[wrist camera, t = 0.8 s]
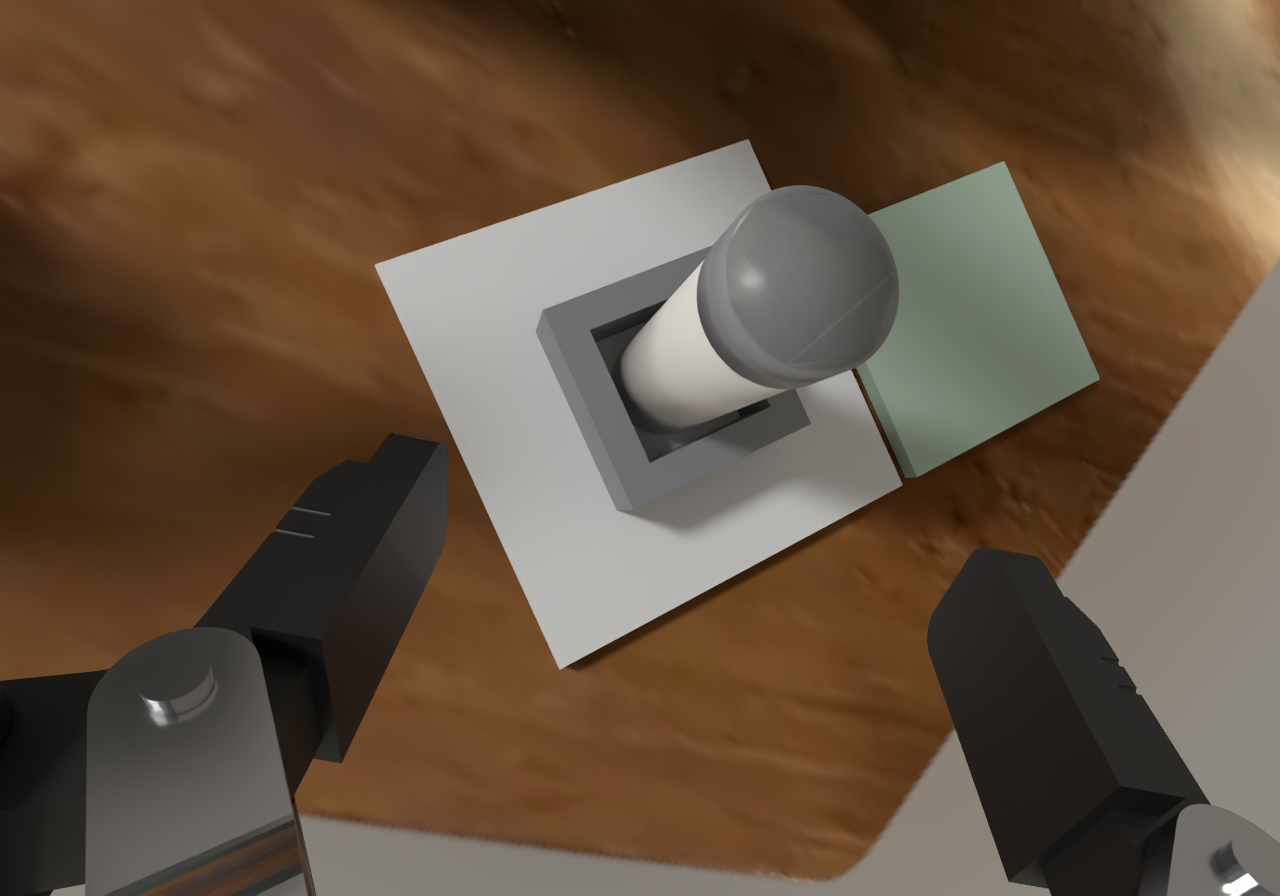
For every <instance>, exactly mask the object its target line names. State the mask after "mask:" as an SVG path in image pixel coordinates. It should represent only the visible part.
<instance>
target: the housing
mask: <svg viewBox="0 0 1280 896" xmlns="http://www.w3.org/2000/svg"><path fill="white" fill-rule="evenodd" d="M770 191H771V189H770V187H769V184H768V182H767V180H766V178H765V175H764V173H763V171H762V169H761V166H760V164H759V162H758V160H757V157H756V155H755V153H754V151H753V149H752V146H751V144H750V142H749V140H748V139H747V140H744V141H741V142H738V143H735V144H732V145H729V146H726V147H723V148H720V149H717V150H714V151H711V152H708V153H705V154H702V155H699V156H696V157H693V158H690V159H687V160H684V161H682V162H679V163H676V164H673V165H670V166H667V167H664V168H661V169H658V170H655V171H652V172H649V173H646V174H643V175H640V176H637V177H634V178H631V179H628V180H625V181H622V182H619V183H616V184H613V185H610V186H607V187H604V188H601V189H598V190H595V191H592V192H589V193H586V194H583V195H580V196H577V197H575V198H572V199H569V200H566V201H563V202H560V203H557V204H554V205H551V206H548V207H545V208H542V209H539V210H536V211H533V212H530V213H527V214H524V215H521V216H518V217H515V218H512V219H509V220H506V221H503V222H500V223H497V224H494V225H491V226H488V227H485V228H482V229H479V230H476V231H473V232H470V233H468V234H465V235H462V236H459V237H456V238H453V239H450V240H447V241H444V242H441V243H438V244H435V245H432V246H429V247H426V248H423V249H420V250H417V251H414V252H411V253H408V254H405V255H402V256H399V257H396V258H393V259H390V260H387V261H384V262H381V263H378V264H375V268H376V270H377V272H378V275H379V277H380V279H381V281H382V283H383V285H384V288H385V290H386V292H387V294H388V296H389V299H390V301H391V303H392V305H393V307H394V309H395V312H396V314H397V316H398V318H399V320H400V323H401V325H402V327H403V329H404V331H405V333H406V336H407V338H408V340H409V342H410V344H411V347H412V349H413V351H414V353H415V355H416V357H417V360H418V362H419V364H420V366H421V368H422V371H423V373H424V375H425V377H426V379H427V382H428V384H429V386H430V388H431V390H432V392H433V395H434V397H435V399H436V401H437V403H438V406H439V408H440V410H441V412H442V414H443V416H444V419H445V421H446V423H447V425H448V427H449V430H450V432H451V434H452V436H453V438H454V440H455V443H456V445H457V447H458V449H459V451H460V454H461V456H462V458H463V460H464V462H465V464H466V467H467V469H468V471H469V473H470V475H471V478H472V480H473V482H474V484H475V486H476V488H477V491H478V493H479V495H480V497H481V499H482V502H483V504H484V506H485V508H486V510H487V512H488V515H489V517H490V519H491V521H492V523H493V526H494V528H495V530H496V532H497V534H498V537H499V539H500V541H501V543H502V545H503V547H504V550H505V552H506V554H507V556H508V558H509V561H510V563H511V565H512V567H513V569H514V571H515V574H516V576H517V578H518V580H519V582H520V585H521V587H522V589H523V591H524V593H525V595H526V598H527V600H528V602H529V604H530V606H531V609H532V611H533V613H534V615H535V617H536V619H537V622H538V624H539V626H540V628H541V630H542V633H543V635H544V637H545V639H546V641H547V643H548V646H549V648H550V650H551V652H552V654H553V657H554V659H555V661H556V663H557V665H558V667H559V669H562V668H564V667H566V666H567V665H569V664H571V663H573V662H575V661H577V660H579V659H580V658H582V657H584V656H586V655H588V654H590V653H592V652H593V651H595V650H597V649H599V648H601V647H603V646H605V645H606V644H608V643H610V642H612V641H614V640H616V639H618V638H619V637H621V636H623V635H625V634H627V633H629V632H631V631H632V630H634V629H636V628H638V627H640V626H642V625H644V624H646V623H647V622H649V621H651V620H653V619H655V618H657V617H659V616H660V615H662V614H664V613H666V612H668V611H670V610H672V609H673V608H675V607H677V606H679V605H681V604H683V603H685V602H686V601H688V600H690V599H692V598H694V597H696V596H698V595H699V594H701V593H703V592H705V591H707V590H709V589H711V588H712V587H714V586H716V585H718V584H720V583H722V582H724V581H725V580H727V579H729V578H731V577H733V576H735V575H737V574H738V573H740V572H742V571H744V570H746V569H748V568H750V567H751V566H753V565H755V564H757V563H759V562H761V561H763V560H764V559H766V558H768V557H770V556H772V555H774V554H776V553H777V552H779V551H781V550H783V549H785V548H787V547H789V546H790V545H792V544H794V543H796V542H798V541H800V540H802V539H803V538H805V537H807V536H809V535H811V534H813V533H815V532H816V531H818V530H820V529H822V528H824V527H826V526H828V525H830V524H831V523H833V522H835V521H837V520H839V519H841V518H843V517H844V516H846V515H848V514H850V513H852V512H854V511H856V510H857V509H859V508H861V507H863V506H865V505H867V504H869V503H870V502H872V501H874V500H876V499H878V498H880V497H882V496H883V495H885V494H887V493H889V492H891V491H893V490H895V489H896V488H898V487H900V486H902V485H903V484H902V482H901V480H900V478H899V475H898V473H897V471H896V469H895V467H894V464H893V462H892V460H891V458H890V455H889V453H888V451H887V449H886V446H885V444H884V442H883V440H882V437H881V435H880V433H879V431H878V428H877V426H876V424H875V422H874V419H873V417H872V415H871V413H870V411H869V408H868V406H867V404H866V402H865V399H864V397H863V395H862V393H861V390H860V388H859V386H858V384H857V381H856V379H855V377H854V375H853V372H852V370H849V371H846V372H843V373H841V374H838V375H835V376H833V377H830V378H827V379H825V380H822V381H819V382H817V383H814V384H811V385H809V386H806V387H802V388H797V389H789V390H787V391H784V392H781V393H779V394H776V395H774V396H771V397H769V398H766V399H763V400H761V401H758V402H756V403H753V404H750V405H748V406H745V407H743V408H740V409H738V410H735V411H732V412H730V413H727V414H725V415H722V416H719V417H717V418H714V419H712V420H709V421H707V422H704V423H701V424H699V425H696V426H694V427H691V428H688V429H686V430H683V431H681V432H678V433H675V434H670V435H655V434H650V433H647V432H644V431H642V430H640V429H638V428H636V427H635V426H633V425H632V422H631V420H630V418H629V416H628V413H627V411H626V409H625V407H624V405H623V402H622V400H621V398H620V396H619V394H618V391H617V389H616V387H615V385H614V383H613V380H612V378H611V375H612V370H613V366H614V364H615V361H616V359H617V358H618V356H619V354H620V353H621V352H622V350H623V349H624V348H625V347H626V346H627V345H628V344H629V343H630V341H631V340H632V339H633V338H634V337H635V336H636V335H637V334H638V333H639V331H640V330H641V329H642V328H643V327H644V326H645V325H646V324H647V323H648V321H649V320H650V319H651V318H652V317H653V316H654V315H655V314H656V313H657V311H658V310H659V309H660V308H661V307H662V306H663V305H664V304H665V303H666V301H667V300H668V299H669V298H670V297H671V296H672V295H673V294H674V293H675V291H676V290H677V289H678V288H679V287H680V286H681V285H682V284H683V283H684V282H685V280H686V279H687V278H688V277H689V276H690V275H691V274H692V273H693V272H694V270H695V269H696V268H697V267H698V266H699V265H700V264H701V263H702V262H703V260H704V259H705V257H706V255H707V253H708V252H709V250H710V248H711V247H712V246H713V245H714V243H715V242H716V241H717V240H718V239H719V237H720V236H721V235H722V234H723V233H724V232H725V231H726V230H727V228H728V227H729V226H730V225H731V224H732V223H733V222H734V220H735V219H736V218H737V217H738V216H739V215H740V214H741V213H742V211H743V210H744V209H745V208H746V207H747V206H748V205H750V204H751V203H752V202H753V201H754V200H756V199H757V198H759V197H760V196H762V195H763V194H766V193H768V192H770Z"/></svg>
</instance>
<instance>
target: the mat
mask: <svg viewBox="0 0 1280 896" xmlns="http://www.w3.org/2000/svg"><path fill="white" fill-rule="evenodd" d="M868 216H869V217H870V218H871V219H872V221H873V222H874V223H875V224H876V225H877V227H878V228H879V230H880V231H881V233H882V234H883V236H884V237H885V239H886V241H887V243H888V245H889V247H890V250H891V252H892V255H893V257H894V260H895V264H896V268H897V273H898V280H899V302H898V309H897V314H896V318H895V321H894V324H893V326H892V329H891V331H890V333H889V335H888V337H887V339H886V340H885V342H884V343H883V344H882V346H881V347H880V349H879V350H878V351H877V352H876V353H875V354H874V355H873V356H872V357H871V358H869V359H868V360H867V361H865V362H864V363H863V364H861V365H859V366H857V367H856V368H857V371H858V373H859V375H860V377H861V380H862V382H863V384H864V386H865V389H866V391H867V393H868V395H869V398H870V400H871V402H872V404H873V407H874V409H875V411H876V413H877V416H878V418H879V420H880V422H881V424H882V427H883V429H884V431H885V433H886V436H887V438H888V440H889V442H890V445H891V447H892V449H893V451H894V454H895V456H896V458H897V460H898V463H899V465H900V467H901V469H902V472H903V474H904V476H905V478H914V477H919V476H921V475H922V474H924V473H926V472H928V471H930V470H932V469H934V468H935V467H937V466H939V465H941V464H943V463H945V462H947V461H948V460H950V459H952V458H954V457H956V456H958V455H960V454H961V453H963V452H965V451H967V450H969V449H971V448H973V447H974V446H976V445H978V444H980V443H982V442H984V441H986V440H987V439H989V438H991V437H993V436H995V435H997V434H999V433H1000V432H1002V431H1004V430H1006V429H1008V428H1010V427H1012V426H1014V425H1015V424H1017V423H1019V422H1021V421H1023V420H1025V419H1027V418H1028V417H1030V416H1032V415H1034V414H1036V413H1038V412H1040V411H1041V410H1043V409H1045V408H1047V407H1049V406H1051V405H1053V404H1054V403H1056V402H1058V401H1060V400H1062V399H1064V398H1066V397H1067V396H1069V395H1071V394H1073V393H1075V392H1077V391H1079V390H1080V389H1082V388H1084V387H1086V386H1088V385H1090V384H1092V383H1093V382H1095V381H1097V380H1099V379H1100V378H1099V375H1098V373H1097V371H1096V368H1095V366H1094V364H1093V362H1092V359H1091V357H1090V355H1089V353H1088V350H1087V348H1086V346H1085V343H1084V341H1083V339H1082V337H1081V334H1080V332H1079V330H1078V328H1077V325H1076V323H1075V321H1074V318H1073V316H1072V314H1071V312H1070V309H1069V307H1068V305H1067V303H1066V300H1065V298H1064V296H1063V293H1062V291H1061V289H1060V287H1059V284H1058V282H1057V280H1056V278H1055V275H1054V273H1053V271H1052V268H1051V266H1050V264H1049V262H1048V259H1047V257H1046V255H1045V253H1044V250H1043V248H1042V246H1041V243H1040V241H1039V239H1038V237H1037V234H1036V232H1035V230H1034V228H1033V225H1032V223H1031V221H1030V218H1029V216H1028V214H1027V212H1026V209H1025V207H1024V205H1023V203H1022V200H1021V198H1020V196H1019V193H1018V191H1017V189H1016V187H1015V184H1014V182H1013V180H1012V178H1011V175H1010V173H1009V171H1008V168H1007V166H1006V164H1005V162H1004V161H1003V162H1001V163H998V164H995V165H993V166H990V167H988V168H985V169H983V170H980V171H978V172H975V173H973V174H970V175H968V176H965V177H962V178H960V179H957V180H955V181H952V182H950V183H947V184H945V185H942V186H940V187H937V188H935V189H932V190H929V191H927V192H924V193H922V194H919V195H917V196H914V197H912V198H909V199H907V200H904V201H902V202H899V203H896V204H894V205H891V206H889V207H886V208H884V209H881V210H879V211H876V212H874V213H871V214H869V215H868Z"/></svg>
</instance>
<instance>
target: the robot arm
mask: <svg viewBox="0 0 1280 896" xmlns="http://www.w3.org/2000/svg"><path fill="white" fill-rule="evenodd" d="M447 488H448V451H447V446H446V443H445V442H442V441H436V440H431V439H426V438H421V437H415V436H410V435H405V434H400V433H391V434H390V435H388V437H387V438H386V439H385V440H384V442H383V443H382V445H381V446H380V447H379V449H378V450H377V451H376V453H375V454H374V456H373V457H372V458H371V460H370V461H369V462H368V463H363V462H358V461H353V460H346V461H344V462H343V463H341V464H339V465H338V466H336V467H334V468H333V469H331V470H329V471H328V472H326V473H324V474H322V475H321V476H319V477H317V478H316V479H315V480H314V481H313V482H312V483H311V484H310V486H309V487H308V488H307V489H306V491H305V492H304V493H303V494H302V496H301V497H300V498H299V499H298V500H297V502H296V503H295V504H294V508H293V510H289V511H288V513H287V514H286V515H285V516H284V518H283V519H282V520H281V521H280V523H279V524H278V525H277V526H276V531H275V533H272V532H271V534H270V535H269V536H268V537H267V539H266V540H265V541H264V542H263V543H262V545H261V546H260V547H259V548H258V550H257V551H256V552H255V553H254V554H253V556H252V557H251V558H250V559H249V561H248V562H247V563H246V564H245V565H244V567H243V568H242V569H241V570H240V572H239V573H238V574H237V575H236V577H235V578H234V579H233V580H232V581H231V583H230V584H229V585H228V586H227V588H226V589H225V590H224V591H223V592H222V594H221V595H220V596H219V597H218V599H217V600H216V601H215V602H214V604H213V605H212V606H211V607H210V608H209V610H208V611H207V612H206V613H205V615H204V616H203V617H202V618H201V619H200V620H199V621H198V623H197V624H196V625H195V626H194V627H193V628H188V629H183V630H179V631H175V632H171V633H168V634H165V635H162V636H159V637H157V638H155V639H153V640H150V641H148V642H146V643H144V644H142V645H141V646H139V647H137V648H135V649H134V650H132V651H131V652H129V653H128V654H127V655H125V656H124V657H122V658H121V659H120V660H119V661H118V662H116V663H115V664H114V665H113V666H112V667H111V668H110V669H107V670H100V671H93V672H85V673H75V674H65V675H55V676H45V677H35V678H25V679H16V680H6V681H0V896H50V894H51V893H52V891H53V890H55V889H60V888H66V887H71V886H76V885H82V884H85V885H86V886H85V896H316V892H315V888H314V883H313V878H312V874H311V869H310V865H309V860H308V856H307V851H306V846H305V841H304V837H303V832H302V827H301V823H300V818H299V813H298V809H297V804H296V799H295V795H294V794H295V792H296V790H297V788H298V787H299V785H300V783H301V781H302V779H303V777H304V775H305V773H306V771H307V769H308V767H309V765H310V763H311V761H312V759H313V758H314V759H320V760H325V761H331V762H337V763H342V761H343V759H344V757H345V755H346V753H347V750H348V748H349V746H350V744H351V742H352V740H353V738H354V736H355V734H356V731H357V729H358V727H359V725H360V723H361V721H362V719H363V717H364V715H365V713H366V710H367V708H368V706H369V704H370V702H371V700H372V698H373V696H374V694H375V692H376V689H377V687H378V685H379V683H380V681H381V679H382V677H383V675H384V673H385V670H386V668H387V666H388V664H389V662H390V660H391V658H392V656H393V654H394V652H395V649H396V647H397V645H398V643H399V641H400V639H401V637H402V635H403V633H404V631H405V628H406V626H407V624H408V622H409V620H410V618H411V616H412V614H413V612H414V609H415V607H416V605H417V603H418V601H419V599H420V597H421V595H422V593H423V591H424V588H425V586H426V584H427V582H428V580H429V578H430V576H431V574H432V572H433V570H434V567H435V565H436V563H437V561H438V559H439V556H440V553H441V550H442V547H443V543H444V539H445V534H446V527H447ZM927 643H928V650H929V654H930V657H931V660H932V663H933V666H934V669H935V672H936V675H937V677H938V680H939V683H940V686H941V689H942V692H943V695H944V698H945V700H946V703H947V706H948V709H949V712H950V715H951V718H952V720H953V723H954V726H955V729H956V732H957V734H958V738H959V741H960V743H961V746H962V749H963V752H964V755H965V758H966V761H967V764H968V766H969V769H970V772H971V775H972V778H973V781H974V783H975V787H976V789H977V792H978V795H979V798H980V801H981V804H982V807H983V810H984V812H985V815H986V818H987V821H988V824H989V827H990V829H991V832H992V835H993V838H994V841H995V844H996V847H997V850H998V852H999V855H1000V858H1001V861H1002V864H1003V867H1004V870H1005V873H1006V876H1007V878H1008V881H1009V882H1014V883H1019V884H1025V885H1031V886H1037V887H1042V888H1048V889H1049V890H1050V893H1051V895H1052V896H1280V844H1279V843H1278V842H1277V841H1276V840H1275V839H1273V838H1272V837H1271V836H1270V835H1268V834H1267V833H1266V832H1264V831H1263V830H1261V829H1260V828H1259V827H1257V826H1256V825H1254V824H1253V823H1251V822H1249V821H1248V820H1246V819H1244V818H1243V817H1241V816H1239V815H1237V814H1235V813H1233V812H1231V811H1228V810H1226V809H1223V808H1220V807H1217V806H1212V805H1211V804H1210V803H1209V801H1208V800H1207V798H1206V796H1205V795H1204V793H1203V792H1202V790H1201V789H1200V787H1199V785H1198V784H1197V782H1196V781H1195V779H1194V777H1193V776H1192V774H1191V773H1190V771H1189V770H1188V768H1187V767H1186V765H1185V763H1184V762H1183V760H1182V758H1181V757H1180V755H1179V754H1178V752H1177V751H1176V749H1175V747H1174V746H1173V744H1172V743H1171V741H1170V740H1169V738H1168V736H1167V735H1166V733H1165V732H1164V730H1163V729H1162V727H1161V726H1160V724H1159V722H1158V721H1157V719H1156V717H1155V716H1154V714H1153V713H1152V711H1151V710H1150V708H1149V706H1148V705H1147V703H1146V702H1145V700H1144V699H1143V697H1142V695H1138V694H1136V686H1135V684H1134V683H1133V681H1132V680H1131V678H1130V677H1129V675H1128V673H1127V672H1126V670H1125V669H1124V667H1120V666H1119V665H1118V662H1119V659H1118V658H1117V656H1116V654H1115V653H1114V651H1113V650H1112V648H1111V646H1110V645H1109V643H1108V642H1107V640H1106V639H1105V637H1104V635H1103V634H1102V632H1101V631H1100V629H1099V628H1098V627H1097V626H1096V625H1095V624H1094V623H1093V622H1092V621H1091V620H1090V619H1089V618H1088V617H1087V616H1086V615H1085V614H1084V613H1083V612H1082V611H1081V610H1080V609H1079V608H1078V607H1077V606H1076V605H1075V604H1074V603H1073V602H1072V601H1070V599H1069V598H1068V597H1064V596H1063V594H1062V593H1061V591H1060V589H1059V588H1058V586H1057V584H1056V583H1055V581H1054V579H1053V578H1052V576H1051V574H1050V573H1049V571H1048V570H1047V568H1046V566H1045V565H1044V563H1043V562H1042V561H1041V560H1040V559H1039V558H1037V557H1035V556H1031V555H1025V554H1020V553H1015V552H1010V551H1004V550H999V549H994V548H989V547H981V548H978V549H977V550H975V551H974V552H973V553H972V554H971V555H970V557H969V558H968V560H967V561H966V563H965V564H964V566H963V567H962V569H961V570H960V572H959V574H958V575H957V577H956V578H955V580H954V581H953V583H952V584H951V586H950V587H949V589H948V590H947V592H946V594H945V595H944V597H943V598H942V600H941V601H940V603H939V604H938V606H937V607H936V609H935V610H934V612H933V614H932V616H931V619H930V622H929V626H928V634H927Z"/></svg>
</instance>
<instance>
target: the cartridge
mask: <svg viewBox="0 0 1280 896" xmlns="http://www.w3.org/2000/svg"><path fill="white" fill-rule="evenodd" d="M898 302H899V280H898V273H897V268H896V264H895V260H894V257H893V255H892V252H891V250H890V247H889V245H888V243H887V241H886V239H885V237H884V236H883V234H882V233H881V231H880V230H879V228H878V227H877V225H876V224H875V223H874V222H873V221H872V219H871V218H870V217H869V216H868V215H867V214H866V213H865V212H864V211H863V210H862V209H861V208H859V207H858V206H857V205H855V204H854V203H853V202H851V201H850V200H848V199H846V198H845V197H843V196H841V195H839V194H837V193H834V192H832V191H830V190H826V189H823V188H819V187H814V186H804V185H795V186H787V187H782V188H779V189H775V190H772V191H770V192H768V193H766V194H763V195H762V196H760V197H759V198H757V199H756V200H754V201H753V202H752V203H751V204H750V205H748V206H747V207H746V208H745V209H744V210H743V211H742V213H741V214H740V215H739V216H738V217H737V218H736V219H735V220H734V222H733V223H732V224H731V225H730V226H729V227H728V228H727V230H726V231H725V232H724V233H723V234H722V235H721V236H720V237H719V239H718V240H717V241H716V242H715V243H714V245H713V246H712V247H711V248H710V250H709V252H708V253H707V255H706V257H705V259H704V260H703V262H702V263H701V264H700V265H699V266H698V267H697V268H696V269H695V270H694V272H693V273H692V274H691V275H690V276H689V277H688V278H687V279H686V280H685V282H684V283H683V284H682V285H681V286H680V287H679V288H678V289H677V290H676V291H675V293H674V294H673V295H672V296H671V297H670V298H669V299H668V300H667V301H666V303H665V304H664V305H663V306H662V307H661V308H660V309H659V310H658V311H657V313H656V314H655V315H654V316H653V317H652V318H651V319H650V320H649V321H648V323H647V324H646V325H645V326H644V327H643V328H642V329H641V330H640V331H639V333H638V334H637V335H636V336H635V337H634V338H633V339H632V340H631V341H630V343H629V344H628V345H627V346H626V347H625V348H624V349H623V350H622V352H621V353H620V354H619V356H618V358H617V359H616V361H615V364H614V366H613V370H612V375H611V378H612V380H613V383H614V385H615V387H616V389H617V391H618V394H619V396H620V398H621V400H622V402H623V405H624V407H625V409H626V411H627V413H628V416H629V418H630V420H631V422H632V425H633V426H635V427H636V428H638V429H640V430H642V431H644V432H647V433H650V434H655V435H670V434H675V433H678V432H681V431H683V430H686V429H688V428H691V427H694V426H696V425H699V424H701V423H704V422H707V421H709V420H712V419H714V418H717V417H719V416H722V415H725V414H727V413H730V412H732V411H735V410H738V409H740V408H743V407H745V406H748V405H750V404H753V403H756V402H758V401H761V400H763V399H766V398H769V397H771V396H774V395H776V394H779V393H781V392H784V391H787V390H789V389H797V388H802V387H806V386H809V385H811V384H814V383H817V382H819V381H822V380H825V379H827V378H830V377H833V376H835V375H838V374H841V373H843V372H846V371H849V370H851V369H854V368H856V367H857V366H859V365H861V364H863V363H864V362H865V361H867V360H868V359H869V358H871V357H872V356H873V355H874V354H875V353H876V352H877V351H878V350H879V349H880V347H881V346H882V344H883V343H884V342H885V340H886V339H887V337H888V335H889V333H890V331H891V329H892V326H893V324H894V321H895V318H896V314H897V309H898Z"/></svg>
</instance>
